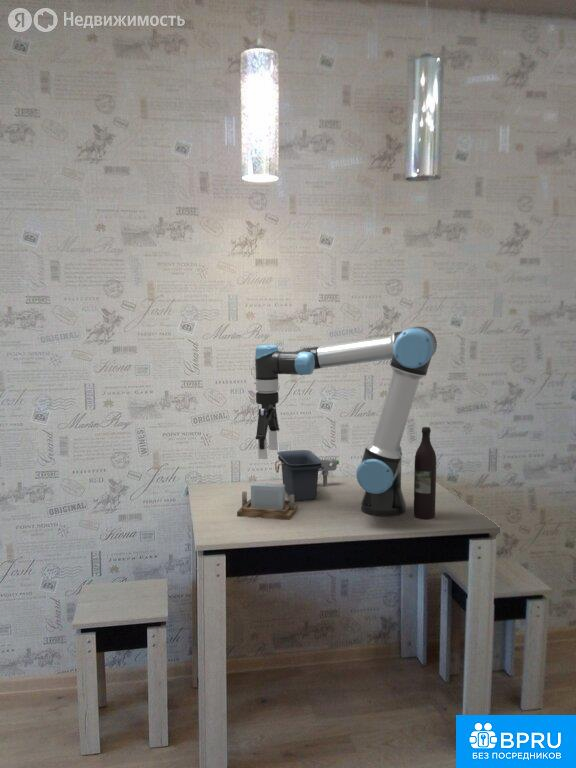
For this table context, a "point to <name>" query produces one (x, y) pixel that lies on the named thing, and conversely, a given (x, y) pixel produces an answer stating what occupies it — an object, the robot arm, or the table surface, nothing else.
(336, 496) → the table surface
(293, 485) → the storage bin
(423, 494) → the wine bottle
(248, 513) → the brown wooden shallow tray
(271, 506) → the pale blue rounded block
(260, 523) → the table surface
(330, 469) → the mechanical component
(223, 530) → the table surface
